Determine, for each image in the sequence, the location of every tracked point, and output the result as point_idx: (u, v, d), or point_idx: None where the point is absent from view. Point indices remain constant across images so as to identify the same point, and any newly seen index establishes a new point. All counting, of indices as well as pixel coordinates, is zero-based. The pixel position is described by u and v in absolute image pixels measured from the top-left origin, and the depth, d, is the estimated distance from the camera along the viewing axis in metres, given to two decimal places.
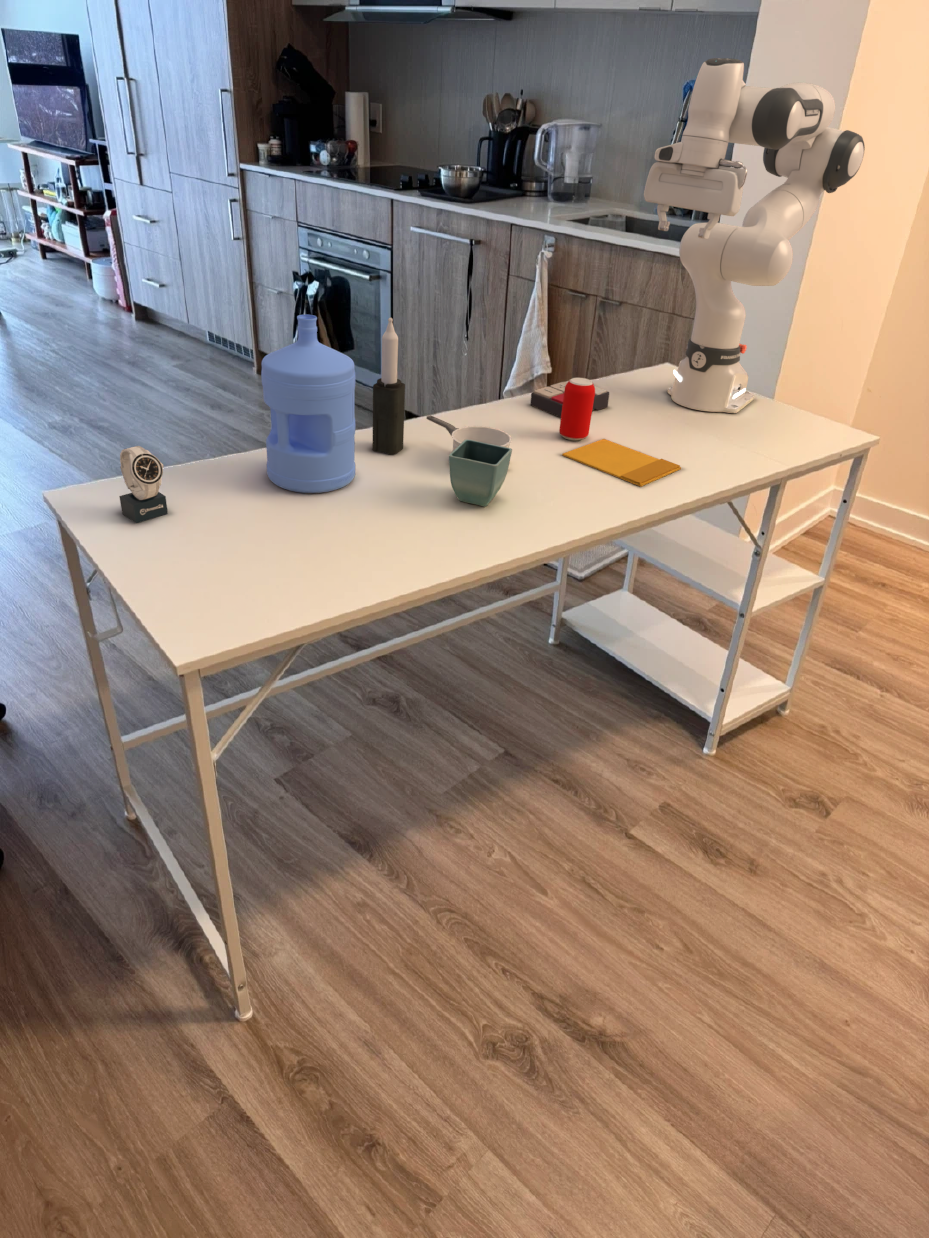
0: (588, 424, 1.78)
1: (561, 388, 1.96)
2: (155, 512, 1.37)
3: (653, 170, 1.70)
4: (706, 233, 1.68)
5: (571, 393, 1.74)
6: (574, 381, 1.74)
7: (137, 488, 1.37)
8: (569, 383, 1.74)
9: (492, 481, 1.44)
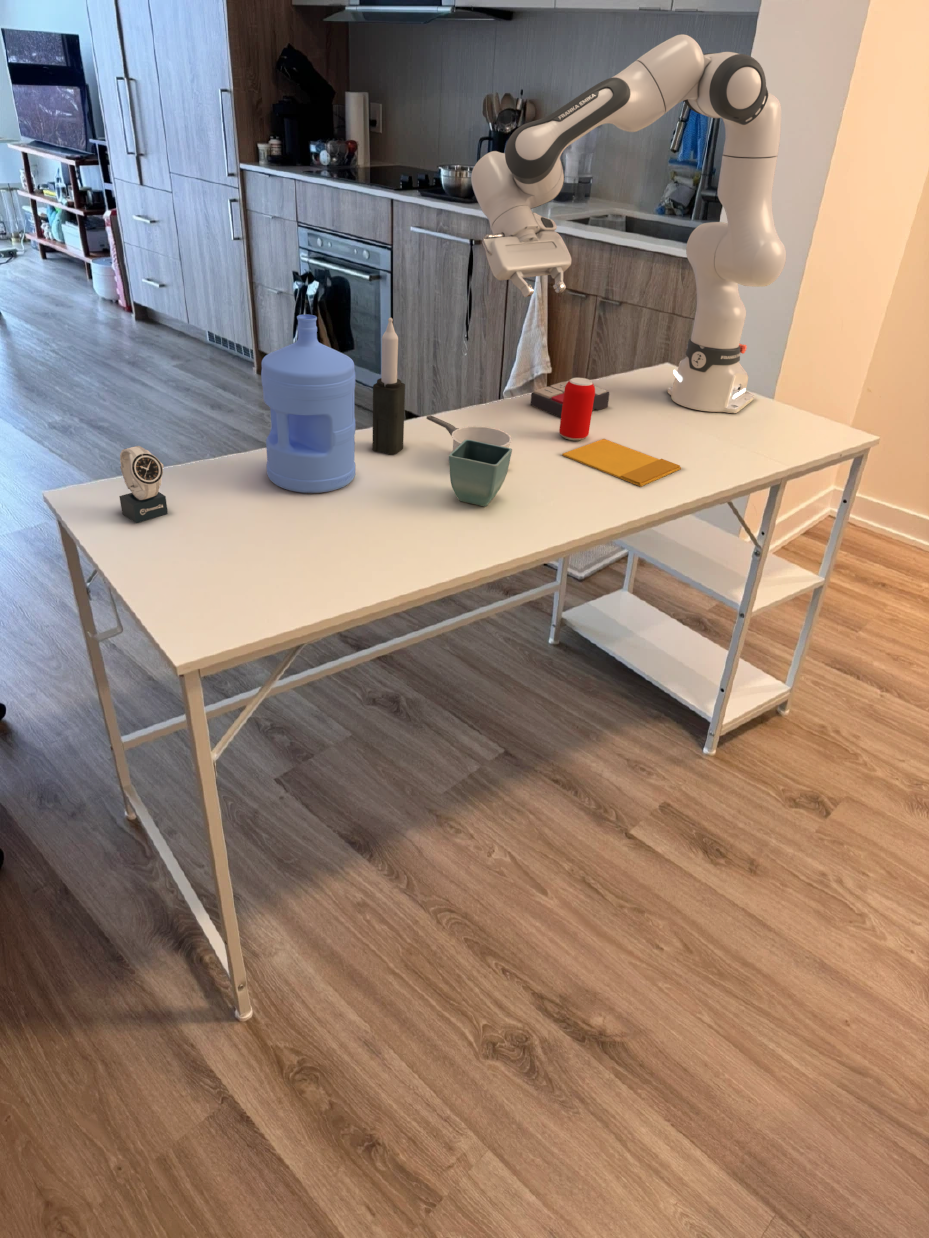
0: (588, 424, 1.78)
1: (561, 388, 1.96)
2: (155, 512, 1.37)
3: None
4: (523, 292, 1.71)
5: (571, 393, 1.74)
6: (574, 381, 1.74)
7: (137, 488, 1.37)
8: (569, 383, 1.74)
9: (492, 481, 1.44)
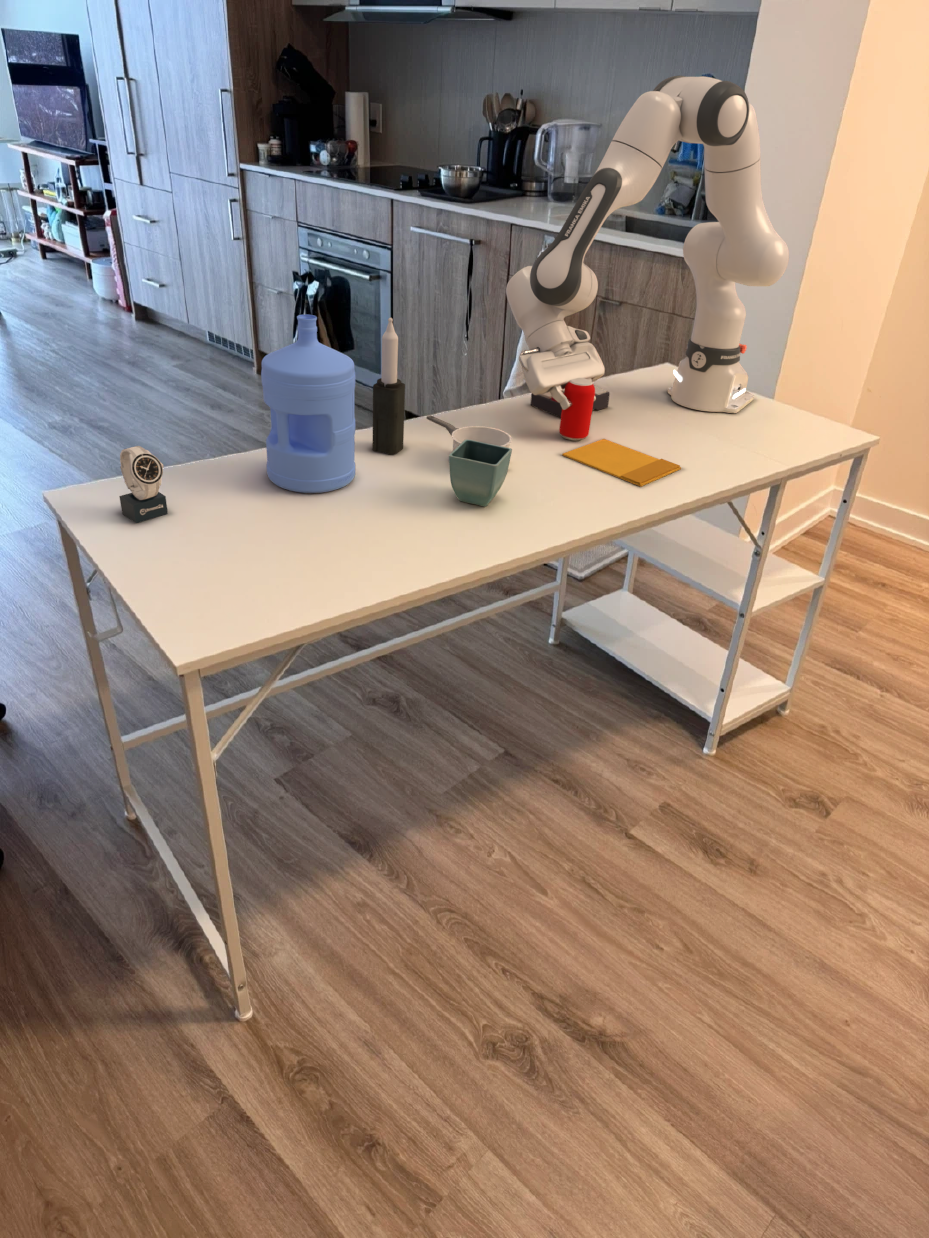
0: (588, 424, 1.78)
1: None
2: (155, 512, 1.37)
3: None
4: (562, 405, 1.75)
5: (571, 393, 1.74)
6: (574, 381, 1.74)
7: (137, 488, 1.37)
8: (569, 383, 1.74)
9: (492, 481, 1.44)
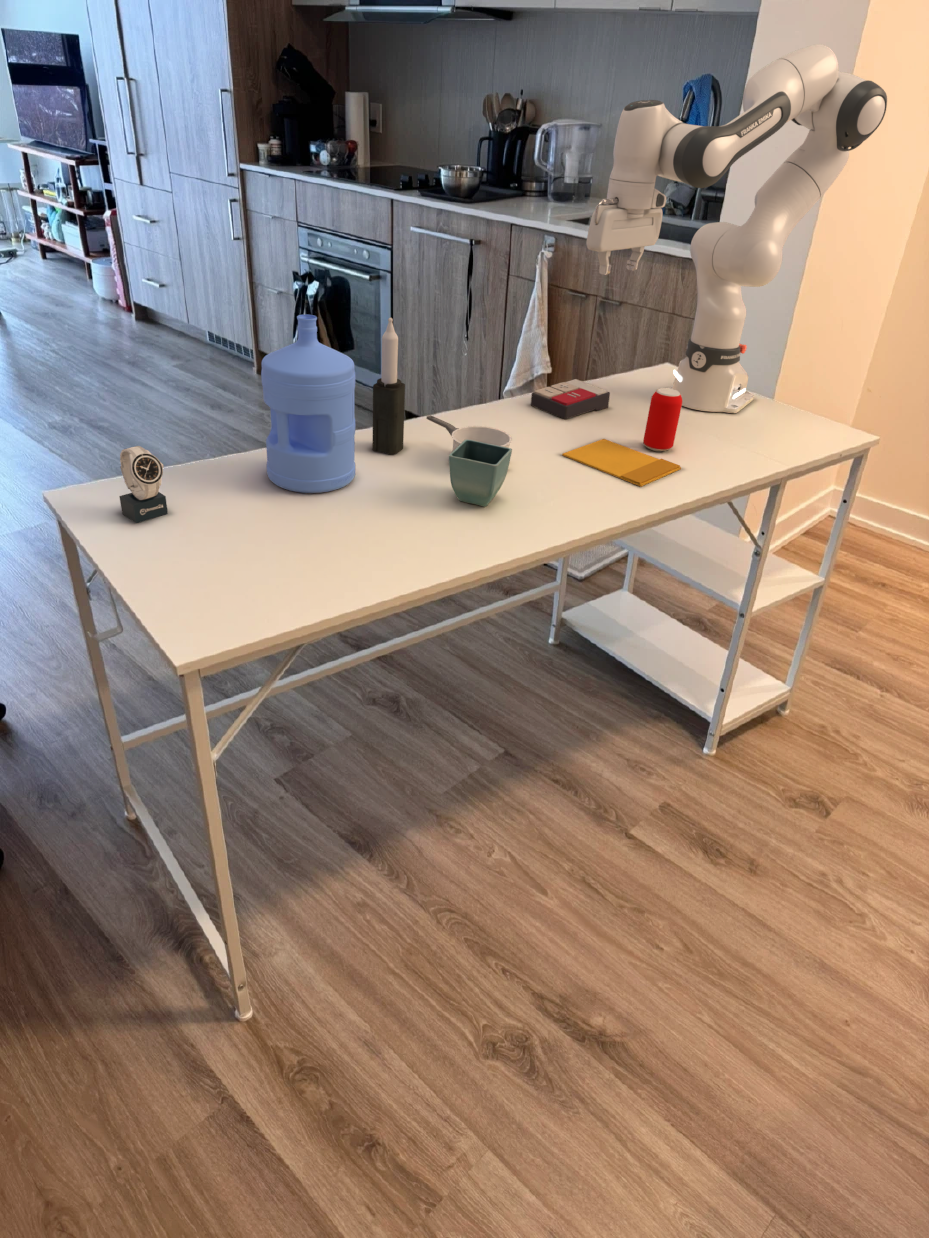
0: (674, 435, 1.76)
1: (562, 388, 1.96)
2: (155, 512, 1.37)
3: None
4: (601, 268, 1.71)
5: (659, 404, 1.72)
6: (661, 392, 1.72)
7: (137, 488, 1.37)
8: (656, 394, 1.72)
9: (492, 481, 1.44)
